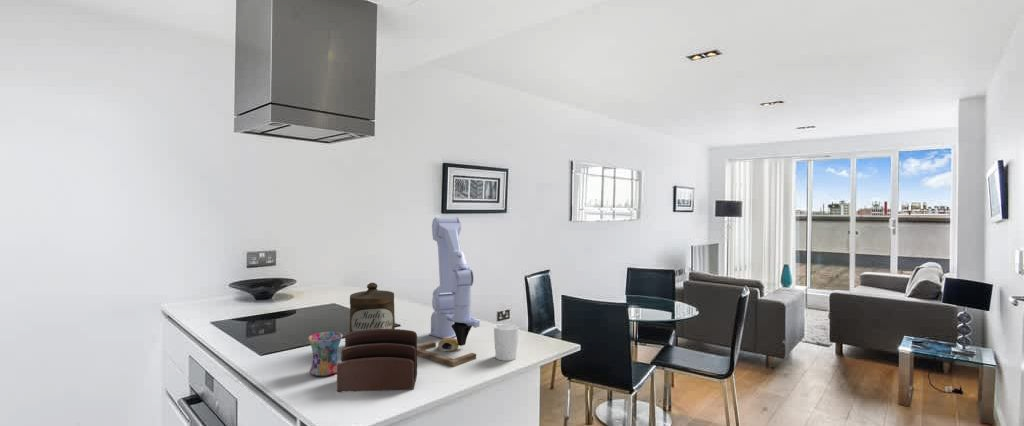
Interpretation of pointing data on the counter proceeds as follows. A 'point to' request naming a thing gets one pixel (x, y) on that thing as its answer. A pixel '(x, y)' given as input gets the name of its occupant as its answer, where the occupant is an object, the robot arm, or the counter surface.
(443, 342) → the pastry
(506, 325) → the white cup
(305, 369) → the counter surface
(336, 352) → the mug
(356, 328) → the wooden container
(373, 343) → the letter holder
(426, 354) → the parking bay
